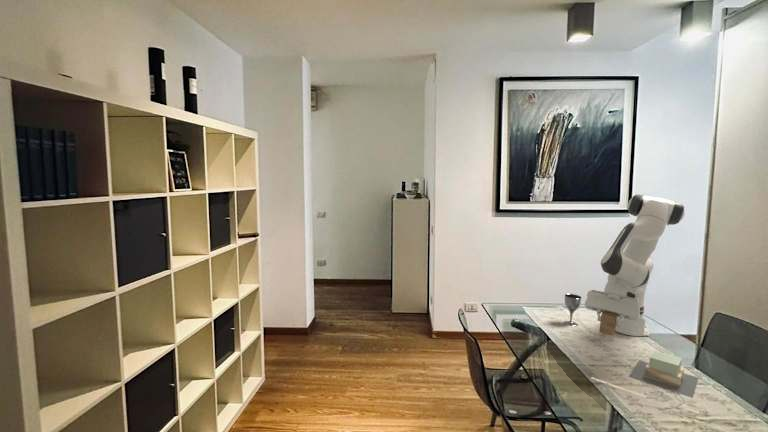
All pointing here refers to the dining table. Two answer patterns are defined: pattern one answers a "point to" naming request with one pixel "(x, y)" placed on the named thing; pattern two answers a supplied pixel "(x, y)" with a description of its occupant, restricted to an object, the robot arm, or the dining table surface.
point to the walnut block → (608, 323)
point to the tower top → (665, 362)
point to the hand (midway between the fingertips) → (608, 322)
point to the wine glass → (572, 306)
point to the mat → (685, 387)
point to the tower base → (664, 376)
